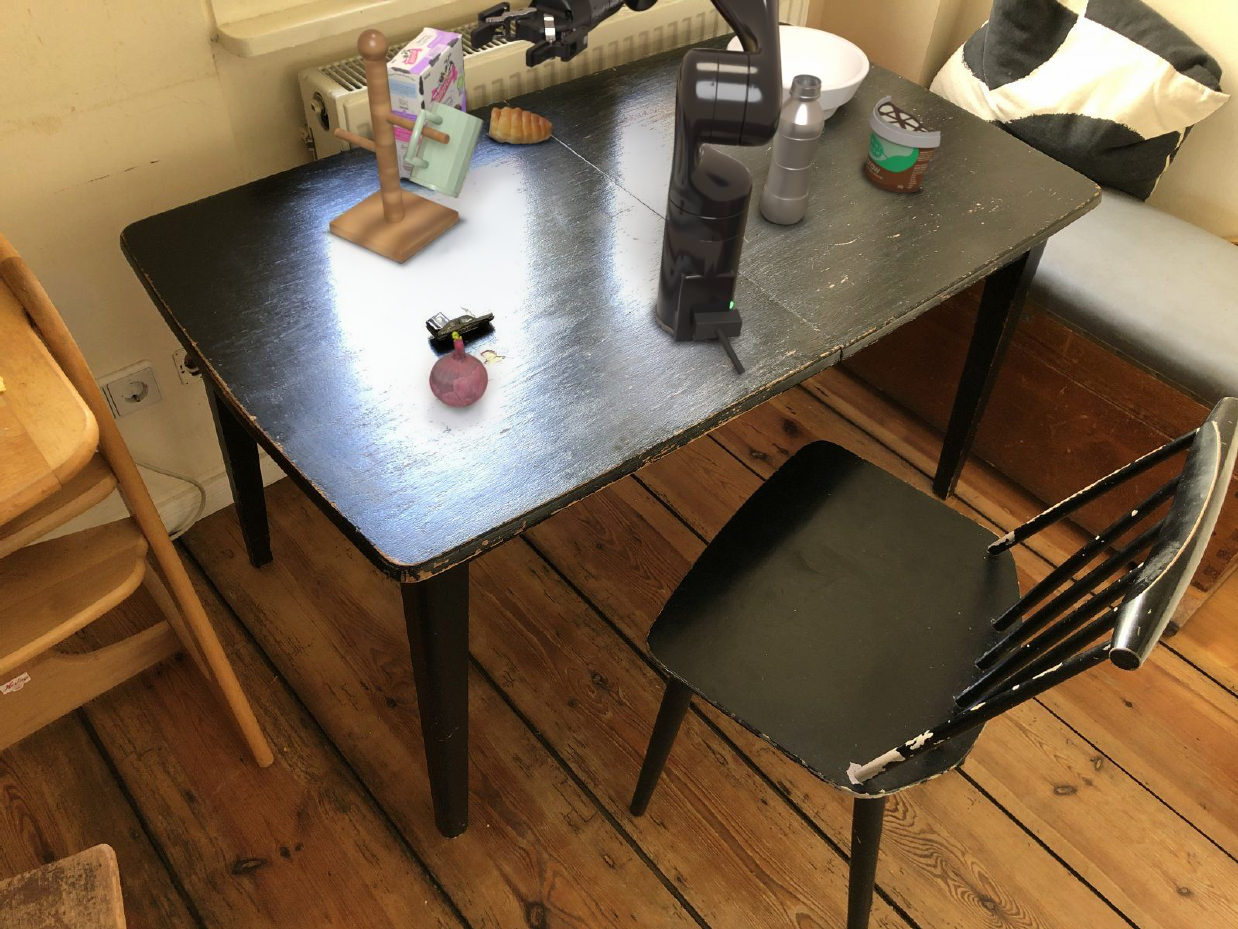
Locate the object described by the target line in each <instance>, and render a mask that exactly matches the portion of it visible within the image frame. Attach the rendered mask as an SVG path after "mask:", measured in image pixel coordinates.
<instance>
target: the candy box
mask: <svg viewBox="0 0 1238 929" xmlns="http://www.w3.org/2000/svg"><path fill="white" fill-rule="evenodd" d="M463 43H464V42H463V34H462V33H457V32H453V31H448V30H443V29H437V28H433V27H428V26H427V27H424V28H423V29H422V30H421V32H420V33H419V34H417V35H416V36H415V37H414V38H413V39H411V41H410V42H409V43H407V44H406V45H405V46H404V47H402V49H400V50H399V51H398V52H397V53H396V54H395V55H393V57H392V58H390V59H389V60H388V61H386V62H387V71H388V80H389V88H390V97H391V105H392V113H393V114H396V115H398V116H401V117H404V118H406V119H409V120H412V121H414V122H416V119H417V115H418V112H419V110H421V109H424V110H426V111H429V112H430V109H431V106H432V103H433V101H436V102H439V103H442V104H444V105H447V106H450V107H452V108H455V109H457V110H460V111H462V112H465V113H467V114H468V110H467V93H466V77H465V74H466V72H465V60H464V44H463ZM426 122H427V120H426V119H425V122H424V125H426ZM394 131H395V140H396V148H397V157H398V166H399V174H400V180H404V181H409V182H411V181H410V180H409V177H410V173H411V169H412V166H413V165H412V164H409V163H406V162H405V160H404V157H405V154H406V151H407V148H408V144H409V141H410V138H411V135H412V131H409V130H407V129H404V128H401V127H399V126H396V125H394ZM421 138H422V135H420V138H419V142H418V145H417V148H416V151H415V154H414V156H415V157H416V154H417V150H418V147H419V144H420V141H421Z"/></svg>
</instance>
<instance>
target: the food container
mask: <svg viewBox="0 0 1238 929" xmlns="http://www.w3.org/2000/svg"><path fill="white" fill-rule="evenodd" d="M892 97H893V96H892V94H891V95H887V96H885V97H883V98H881V99H880V100H879V101H878V102H877V104H876V105H875V106H874V107H873V109H872V111H871V114H870V115H869V118H868V122H869V125H870V128H871V133H870V139H869V146H868V151H867V155H866V156H867V157H866V163H865V167H864V168H865V169H864V172H865V176H866V178H867V180H868V181H869V182H871V183H872V184H873V185H875V186H877V187H878V188H881V189H883V190H886V191H890V192H895V193H914V192H918V190H919V188H920V185H921V183H922V180H923V178H924V176H925V173H926V171H927V169H928V166H929V163H930V160H931V159H932V156H933V153H934V151H935V148H939V147H940V144H941V138H942V136H941V132H942V131H941V130H937V131H930V130H929V129H928V128H927V127H925V126H924V124H922V123H921V122H920V121H919V119H917V117H915V116H914V115H912V114H910V113H908V112H907V111H905V110H902V109H900V108H899V107H898V106H896V104H894V103H893V102H891V101H892Z"/></svg>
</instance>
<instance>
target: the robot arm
mask: <svg viewBox="0 0 1238 929" xmlns="http://www.w3.org/2000/svg"><path fill="white" fill-rule="evenodd" d="M658 1H659V0H531V1H530V4H529V5H528V6H527V7H524V8H520V9H517V10H515V9H511V3H510V2H509V1H501V2H498V3H497V4H495V5H493V6H490V7H489V8H486V9H484V10H482V11H480V12H478V13H477V27H475V28H474V29H472V30H471V31H469V32H470V46H471V48H472V49H475V50H479V49H480V48H482V47H484V46H486V45H488V44H490V43H492V42H493V41H494V40H503V39H504V40H505V42H506V43H507V42H508V43H511V42H512V43H513V42H519V41H521V42H522V41H525V42H529V43H531V44H533V45H531V46H530V47H528V48H527V49H526V50H525V66H526V67H528V68H531V69H532V68H534V67H536V66H538V65H541V64H543V63H545V62H546V61H547V60H549V61H552V60H556V59H557V58H560V62H563V63H568V62H570V61H571V60H573V59H574V58H576V56H578V55H579V54H581V53H582V52H583V51H585V50H586V49H588V47H589V33H590V32H592V31H593V30H594V29H596V28H597V27H598V26H599V25H600V24H602V22H605V21H606V20H607V19H609V18H611V17H612V16H614V15H615V14H617V13H618V12H619V11H621V9H622V8H623V7H624V5H625V6H626V8H628V9H629V10H630V11H632V12H637V13H640V12H645V11H648V10H650V9H651V8H653V7H654V6H655V5H656V4H657V3H658ZM709 1H710V3H711V4H712V5H713V7H714V8H715V10H716V11H717V12H718V13H719V14H720V16H721V17H722V19H723V20H724V21H725V23H727V24H728V26H729V27H730V29H731V30H732V31H733V33H734V34H735V36H737V37H738V39H739V41H740V43H741V46H742V48H743V51H733V50H727V49H719V48H718V49H716V48H707V47H694V48H690V49H689V50H687V52H686V53H685V54H684V56H683V58H682V59H681V61H680V65H679V68H678V73H677V79H676V85H675V86H676V88H675V100H674V101H675V102H674V106H675V107H674V127H673V147H672V156H671V157H672V159H671V166H670V175H669V181H668V191H667V198H666V199H667V201H666V210H665V219H664V228H663V237H662V245H661V246H662V247H661V257H660V266H659V276H658V285H657V286H658V287H657V298H656V299H657V300H656V304H655V308H654V318H655V321H656V323H657V324H658V327H660V328H661V329H662V330H663V331H664V332H666V333H667V334H669V335H671V336H672V337H673V339H674V342H676V343H680V342H681V343H682V342H702V341H703V342H704V341H715V340H716V341H717V340H718V341H719V342H720V344H721V345H722V346H721V347H723V350H724V351H725V353H726V355H727V356H728V358H729V360H730V362H731V364H732V365H733V367H734V369H735V370H736V372H737V374H738V375H739V376H740V375H742V374H744V373H745V372H746V369H745V367H744V365H743V364H742V362H741V360H740V359H739V357H738V355H737V353H736V351H735V350H734V348H733V346H732V345H731V343H730V341H729V338H740V337H741V331H742V327H743V319H742V316H741V313H740V310H739V309H738V308H735V309H733V306H734V300H735V293H736V286H737V280H738V274H739V267H740V264H741V263H740V262H741V256H742V251H743V245H744V240H745V234H746V227H747V223H748V218H749V210H750V204H751V199H752V194H753V189H754V188H753V186H754V182H753V181H754V180H753V175H752V173H751V172H750V170H749V168H748V167H747V166H746V165H745V164H744V163H743V162H741V161H740V160H738V159H736V158H735V157H733V156H732V155H728V154H727V153H724V151H723V152H722V151H721V150H719V149H718V148H715V147H714V146H713V145H717V146H718V145H719V146H730V147H743V148H744V147H746V148H747V147H748V148H750V147H751V148H752V147H753V148H754V147H755V148H756V147H762V146H766V145H767V144H769V143H770V142H772V141H773V137H774V136H775V134H776V132H777V129H778V126H779V122H780V118H781V111H782V99H783V82H782V61H781V47H780V32H779V25H780V12H779V11H780V0H709ZM511 22H514V30H515V32H514V33H511V32H512V31H511V28H512V27H511ZM501 27H502V30H500V31H496V30H497V29H500V28H501Z"/></svg>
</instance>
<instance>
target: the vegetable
mask: <svg viewBox="0 0 1238 929" xmlns="http://www.w3.org/2000/svg"><path fill="white" fill-rule="evenodd" d="M451 337H452V339H454V340H452V342H453V346H454V351H453V352H450V353H447V354H445V355H443V356H441V357H439V358H438V359H437V361H436V362H435V363H434V365H433V366H432V367H431V370H430V373H429V377H428V382H429V384H428V385H429V387H430V391H431V392H432V393H433V395H434V396H435V397H436V398H437V400H439V402H441V403H443V404H445V405H446V406H450V407H456V408H464V407H469V406H470V405H473V404H475V403H476V402H478V401H479V400H481V399H482V397H483V396H484V394H485V392H486V390H487V387H488V384H489V375H488V371H487V368H486V367H485V365H484V364H483V362H482V361H481V360H480V359H479V358H477V357H476V356H474V355H472V354H470V353H469V352H466V348H465V345H464V342H463V341H464V340H463V337H462V336H461V335H460V334H459V332H457V331H453V332H452V333H451Z"/></svg>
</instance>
